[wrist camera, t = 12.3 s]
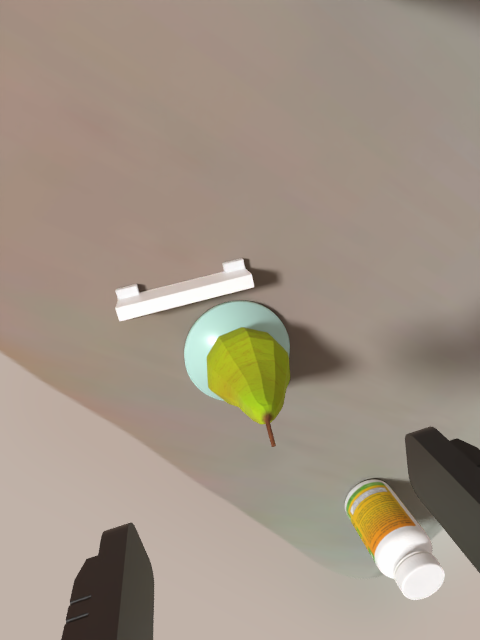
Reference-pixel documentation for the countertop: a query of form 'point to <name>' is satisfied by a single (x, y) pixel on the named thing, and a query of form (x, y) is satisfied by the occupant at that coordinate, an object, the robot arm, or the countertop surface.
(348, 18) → the countertop surface
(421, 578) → the supplement bottle
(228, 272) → the rail
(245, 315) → the pad
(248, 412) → the fruit
